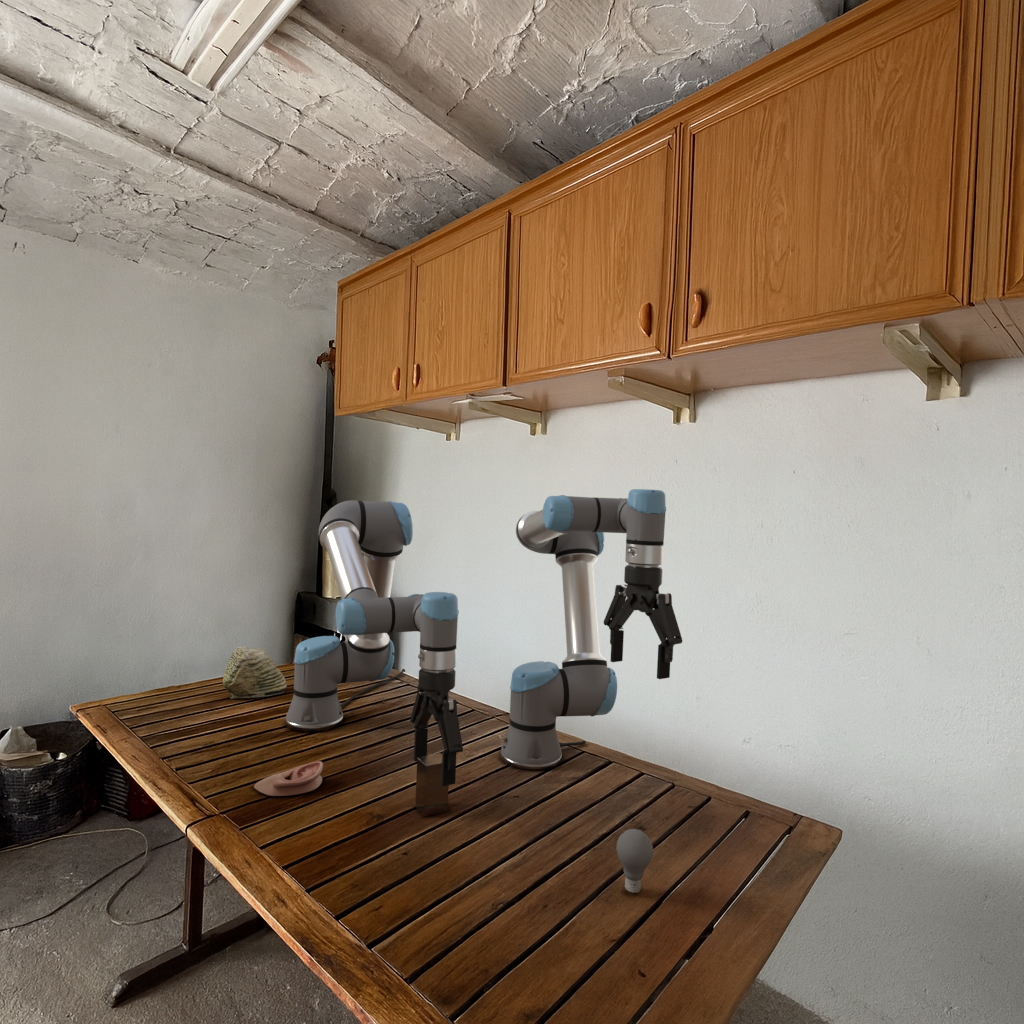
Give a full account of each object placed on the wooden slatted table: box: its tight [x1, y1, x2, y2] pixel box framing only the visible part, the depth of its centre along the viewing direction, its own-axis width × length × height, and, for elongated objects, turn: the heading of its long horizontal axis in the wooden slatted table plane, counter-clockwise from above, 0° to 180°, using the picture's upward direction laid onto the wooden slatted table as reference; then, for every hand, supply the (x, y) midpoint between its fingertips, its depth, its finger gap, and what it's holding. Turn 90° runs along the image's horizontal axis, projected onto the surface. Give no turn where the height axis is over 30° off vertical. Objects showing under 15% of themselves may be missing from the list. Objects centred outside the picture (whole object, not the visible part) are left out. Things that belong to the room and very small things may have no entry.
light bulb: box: [615, 828, 654, 894], centre depth 106 cm, size 6×6×10 cm
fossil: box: [222, 646, 288, 699], centre depth 198 cm, size 9×18×15 cm, turn 132°
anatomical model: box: [253, 760, 324, 797], centre depth 138 cm, size 13×4×12 cm
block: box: [414, 752, 450, 818], centre depth 131 cm, size 5×5×10 cm
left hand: (433, 771), depth 130 cm, fingers open, 13 cm apart
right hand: (638, 669), depth 129 cm, fingers open, 13 cm apart
